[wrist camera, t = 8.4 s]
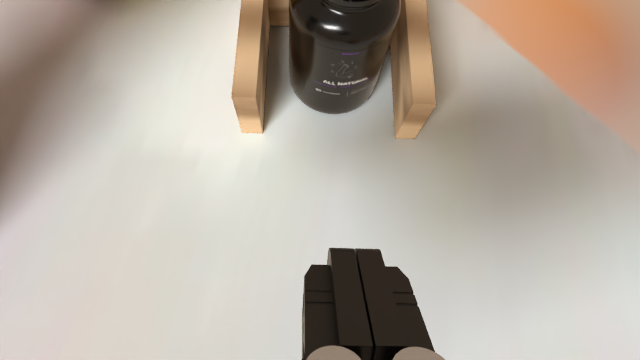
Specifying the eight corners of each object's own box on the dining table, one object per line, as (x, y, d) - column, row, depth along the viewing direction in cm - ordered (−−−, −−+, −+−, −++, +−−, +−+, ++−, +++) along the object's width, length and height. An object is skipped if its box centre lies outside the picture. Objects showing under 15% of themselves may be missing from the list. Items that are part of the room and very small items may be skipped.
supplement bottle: (331, 134, 30) (351, 19, 18) (271, 76, 31) (257, -63, 20) (393, 82, 32) (446, -50, 20) (334, 30, 33) (353, -121, 22)
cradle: (414, 138, 30) (438, 101, 25) (242, 132, 29) (230, 93, 24) (405, 17, 34) (424, -37, 29) (253, 9, 33) (245, -47, 28)
